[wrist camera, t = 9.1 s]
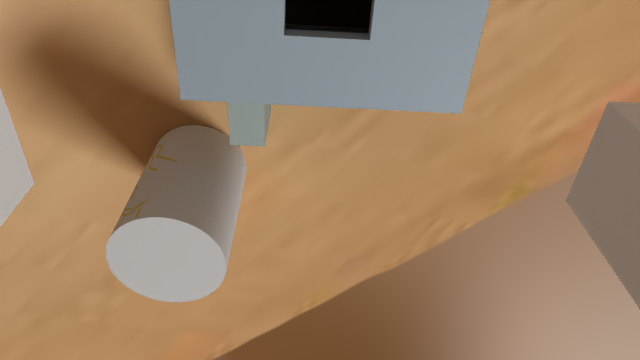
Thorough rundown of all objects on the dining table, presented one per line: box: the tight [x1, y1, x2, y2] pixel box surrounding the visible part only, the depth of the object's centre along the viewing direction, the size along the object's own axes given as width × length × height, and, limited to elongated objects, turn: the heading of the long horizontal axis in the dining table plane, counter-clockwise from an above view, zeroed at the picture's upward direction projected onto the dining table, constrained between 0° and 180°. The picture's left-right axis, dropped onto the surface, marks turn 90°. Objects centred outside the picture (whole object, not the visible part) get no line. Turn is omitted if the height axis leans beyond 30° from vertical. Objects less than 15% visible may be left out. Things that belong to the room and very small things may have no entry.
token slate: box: [228, 102, 271, 146], centre depth 36 cm, size 2×6×6 cm, turn 177°
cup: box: [106, 125, 247, 302], centre depth 39 cm, size 8×8×12 cm
